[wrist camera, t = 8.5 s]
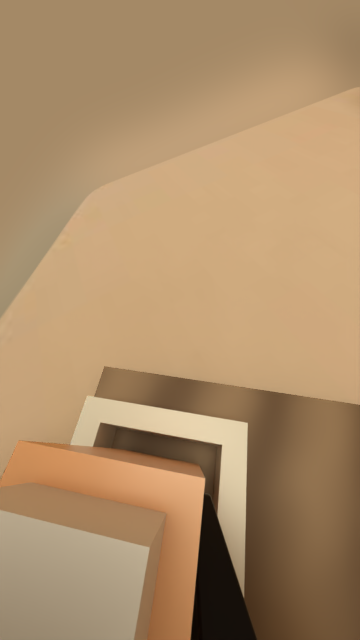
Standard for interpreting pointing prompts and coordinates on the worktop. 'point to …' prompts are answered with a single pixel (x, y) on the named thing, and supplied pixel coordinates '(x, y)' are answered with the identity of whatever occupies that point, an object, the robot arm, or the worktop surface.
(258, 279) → the worktop surface
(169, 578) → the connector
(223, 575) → the robot arm
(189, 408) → the board
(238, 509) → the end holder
